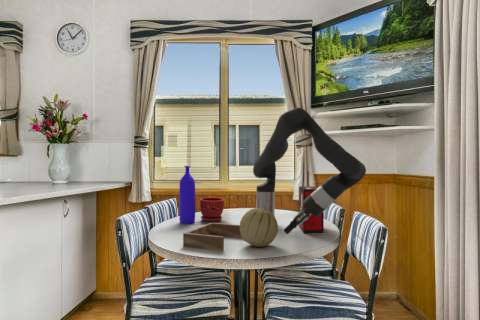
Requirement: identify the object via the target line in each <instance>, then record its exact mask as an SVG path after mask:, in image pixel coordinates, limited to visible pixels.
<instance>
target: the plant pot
mask: <svg viewBox="0 0 480 320" xmlns="http://www.w3.org/2000/svg"><path fill="white" fill-rule="evenodd" d="M199 205H200V207H199V209H200V213H201V216H200V219H201V220H202V221H204V222H207V223H208V222H209V223H216V222H219V221H221V220H222V219H223V216H222V215H223V212H224V208H225V207H224V206H225V199H223V198H220V197H201V198H200V199H199Z"/></svg>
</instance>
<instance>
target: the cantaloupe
mask: <svg viewBox="0 0 480 320" xmlns="http://www.w3.org/2000/svg"><path fill="white" fill-rule="evenodd" d="M239 225H240V233H241V236H242V237H241V239H243V241H244V242H246V243H247V244H249V245H250V246H253V247H256V248H257V247H258V248H262V247H265V246H268V245H270V244H271V243H273V241H275V239H276V237H277V235H278V230H279V228H278V227H279V226H278V221H277V219H276V217H274V215H273V214H272V213H270V212H268V211H267V210H266V208H265V207H264V208H263V209H259V208H257V207H255V208H251V209H250V210H247V212H245V213H244V215H242V217H241V219H240V223H239Z"/></svg>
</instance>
